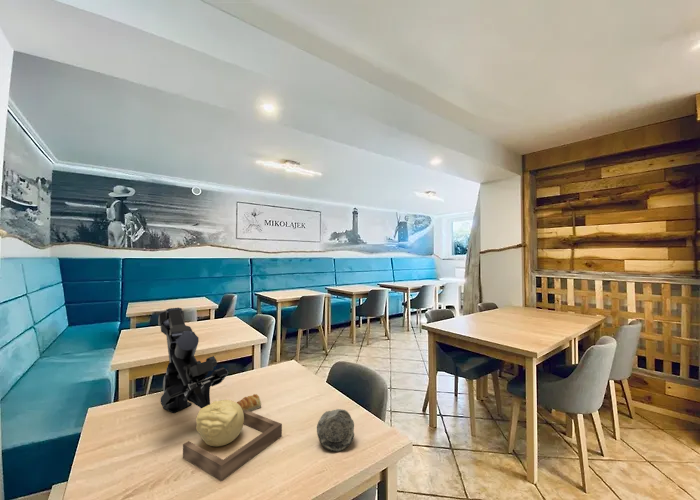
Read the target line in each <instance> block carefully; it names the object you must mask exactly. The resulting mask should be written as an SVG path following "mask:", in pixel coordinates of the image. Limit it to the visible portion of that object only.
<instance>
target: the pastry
mask: <svg viewBox="0 0 700 500" xmlns="http://www.w3.org/2000/svg"><path fill="white" fill-rule="evenodd" d="M236 403H238V404H239V405H240V406H241V408H242V410H243V411H244V410H247V411H250V412H253V411H255V410H258V409H261V407H262V402H261V398H260V396H259V395H258V394H257V393H254V394H252V395H247V396H244V397H243V398H241V400H238V401H237V402H236Z"/></svg>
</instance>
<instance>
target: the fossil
mask: <svg viewBox="0 0 700 500" xmlns="http://www.w3.org/2000/svg"><path fill="white" fill-rule="evenodd" d="M316 425H317V426H316V435H317V437H318V441H319V442H320V443H321V445H322V447H323V448H324V449H326V450H329V451H330V452H341V451H344V450H345V449H347V448H348V447H350V445H351V444H352V442H353V440H354V438H355V432H354V431H355V430H354V429H355V423H354V419H353V418H352V416H351V414H350V413H349V412H348V411H347V410H346V409H343V408H342V409H341V408H337V409H332V410H328V411H325V412H323V414H322V415H321V416H320V417H319V419H318V421H317V424H316Z"/></svg>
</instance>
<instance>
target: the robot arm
mask: <svg viewBox="0 0 700 500" xmlns="http://www.w3.org/2000/svg"><path fill="white" fill-rule="evenodd" d="M157 320H158V323H157V324H158V327H160V332H161V333H162V334H164V335H165V336H166V345H167V353H168V361H169V363H168V364H167V367H166V370H165V375H164V377H163V381H162V391H163V394H162V395H161V397H160V403H161V405H162V408H163V409H164V410H166V411H168V412H170V413H173V414H174V413H176V412H179V411H181V410H184V409H185V408H188V407H190V406H192V404H194V405H196V406H197V407H199V408H200V409H202V408H203V407H205V406H207V405H210V404H211V398H210V397H211V396H210V394H211V393H210V390H211V387H214V386H217V385H219V384H221V383H222V382H223V381H224V380H225V378H226V377H227V376H228V375H229V372H228V370H227V368H226V367H220V368H217V369H215V370H214V368H215V367H217V366H218V361H217V359H216V358H215V357H216V356H215V355H213V356H209V357H207V358H206V359H205V361H203V362H202V361H201V360H198V361H197V358H196V357H195V354H196V351H197V348H198V345H199V342H200V340H199V339H200V338H199V336H197V334H196V333H195V331H193V329H192V327H191V326H190V325H186V323H185V311H184V310H183V309H182V307H173V308H172V307H170V308H166V309H165V311H163V312H161V313H159V314H158V318H157ZM209 372H211V374H210V375H209ZM208 375H209V376H208ZM206 376H207V377H206Z"/></svg>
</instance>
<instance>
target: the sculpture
mask: <svg viewBox="0 0 700 500" xmlns="http://www.w3.org/2000/svg"><path fill="white" fill-rule="evenodd" d="M195 423H196V426H195V427H196V432H198V433H199V435H200V438H201V439H202V440H203V442H205V444H206V445H208V446H211V447H224V446H226V445H228V444H230V443H232V442H234V441H235V440H236V439H237V438H238V436H239V435H240V434H241V432H242V429H243V426H244V424H243V423H244V413H243V410H242V408H241V406H240V405H239V404H238V403H237V402H236V401H234V400H231V399H221V400H214V401H212V402H210V405H207V406H205V407H203V408H200V409H199V411H198V414H197V416H196V419H195Z"/></svg>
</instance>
